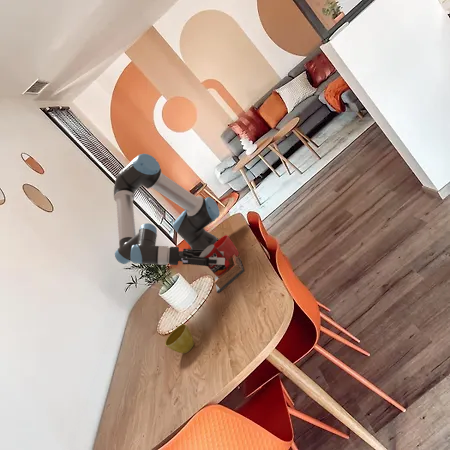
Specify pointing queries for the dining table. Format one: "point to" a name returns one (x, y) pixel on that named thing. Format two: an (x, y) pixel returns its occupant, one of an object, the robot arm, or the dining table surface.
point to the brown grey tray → (229, 273)
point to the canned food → (214, 252)
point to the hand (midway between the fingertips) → (224, 258)
